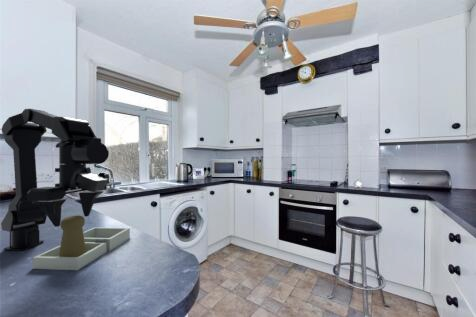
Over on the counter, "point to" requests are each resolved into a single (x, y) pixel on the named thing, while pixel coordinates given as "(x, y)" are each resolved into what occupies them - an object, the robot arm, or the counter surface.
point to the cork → (72, 237)
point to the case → (107, 236)
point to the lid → (69, 263)
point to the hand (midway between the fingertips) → (73, 220)
